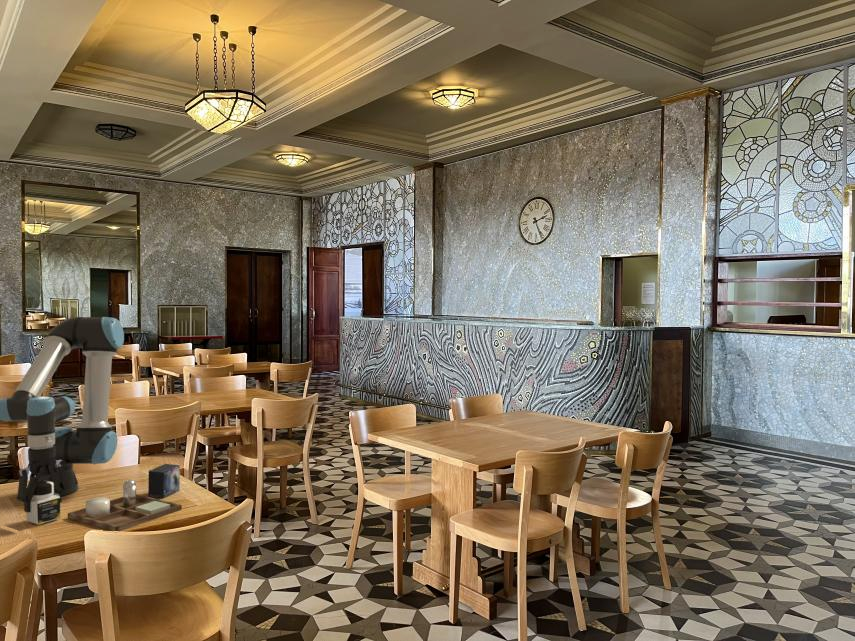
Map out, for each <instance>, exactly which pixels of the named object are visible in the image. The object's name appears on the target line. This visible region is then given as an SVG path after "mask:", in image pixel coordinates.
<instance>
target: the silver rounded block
mask: <svg viewBox="0 0 855 641" xmlns="http://www.w3.org/2000/svg"><path fill="white" fill-rule="evenodd" d="M110 500H111V499H110V497H109V498H108V497H104V496H103V497H93V498H90V499H87V500H86V501H85V508H86V517H88V518H91V519H95V518H98V517H101V516H104V515H107V514H110Z"/></svg>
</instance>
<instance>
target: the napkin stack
mask: <svg viewBox="0 0 855 641" xmlns="http://www.w3.org/2000/svg"><path fill="white" fill-rule="evenodd" d="M168 508H170V504H166V503H162V502H158V501H153V502H150V503H147V504H144V505H141V506H137V507H136V511H138V512H142V513H146V514H150V515H151V514H153V513H156V512H159V511H162V510H165V509H168Z"/></svg>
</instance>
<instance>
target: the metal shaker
mask: <svg viewBox="0 0 855 641" xmlns="http://www.w3.org/2000/svg"><path fill="white" fill-rule="evenodd" d="M122 491H123V492H122V495H123V496H122V497H123V507H125V508H129V507H132V506H135V505H136V494H137V483H136V481H135V480H134V479H127V480H125V481H124V482H123V484H122Z"/></svg>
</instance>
